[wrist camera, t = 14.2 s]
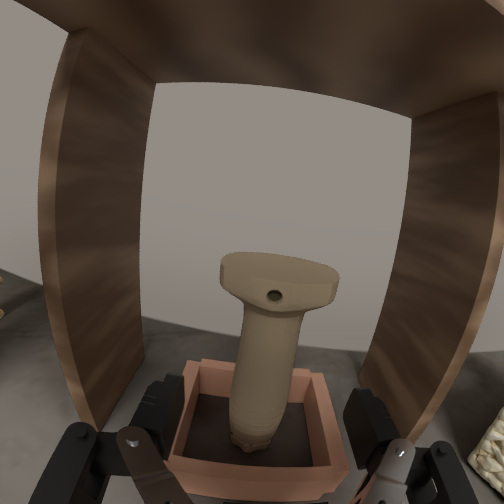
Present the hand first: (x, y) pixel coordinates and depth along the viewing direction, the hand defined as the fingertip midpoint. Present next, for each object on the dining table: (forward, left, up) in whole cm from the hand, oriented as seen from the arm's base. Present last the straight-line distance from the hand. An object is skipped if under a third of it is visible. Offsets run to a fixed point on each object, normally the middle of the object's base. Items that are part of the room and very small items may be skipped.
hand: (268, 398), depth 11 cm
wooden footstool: (0, +5, -10) cm, 11 cm away
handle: (0, +5, -10) cm, 11 cm away
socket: (0, +5, -10) cm, 11 cm away
